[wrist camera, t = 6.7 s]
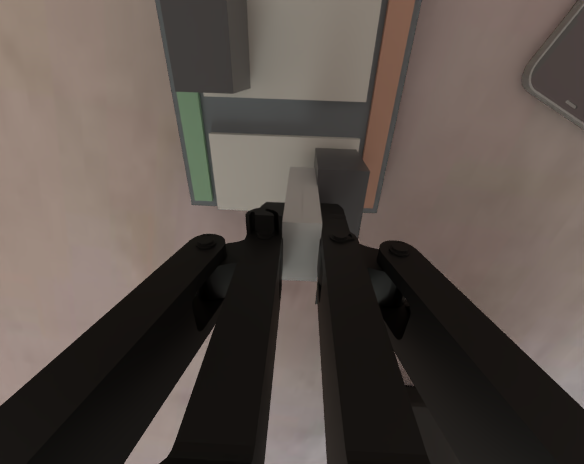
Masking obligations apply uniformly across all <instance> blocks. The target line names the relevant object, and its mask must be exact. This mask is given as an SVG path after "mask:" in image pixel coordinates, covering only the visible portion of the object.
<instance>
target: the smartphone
mask: <svg viewBox="0 0 584 464" xmlns="http://www.w3.org/2000/svg"><path fill="white" fill-rule="evenodd" d="M522 85H523V87H524V89H525V90H526V91H527V92H529V93H530V94H531V95H533V96H534V97H536V98H537V99H539V100H540V101H542V102H543V103H545V104H546V105H548V106H549V107H551V108H552V109H554V110H555V111H557V112H558V113H560V114H561V115H563V116H564V117H566V118H567V119H568V120H570V121H571V122H573V123H574V124H576V125H577V126H579V127H580V128H582V129H583V130H584V0H578V1H577V2H576V4H575V5H574V6H573V8H572V9H571V10H570V12H569V13H568V14H567V15H566V17H565V18H564V19H563V20H562V22H561V23H560V24H559V25H558V27H557V28H556V29H555V30H554V32H553V33H552V34H551V35H550V36H549V38H548V39H547V40H546V41H545V43H544V44H543V45H542V46H541V48H540V49H539V50H538V51H537V53H536V54H535V55H534V56H533V58H532V59H531V60H530V62H529V63H528V64H527V66H526V68H525V69H524V72H523V75H522ZM535 94H536V95H535Z"/></svg>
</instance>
